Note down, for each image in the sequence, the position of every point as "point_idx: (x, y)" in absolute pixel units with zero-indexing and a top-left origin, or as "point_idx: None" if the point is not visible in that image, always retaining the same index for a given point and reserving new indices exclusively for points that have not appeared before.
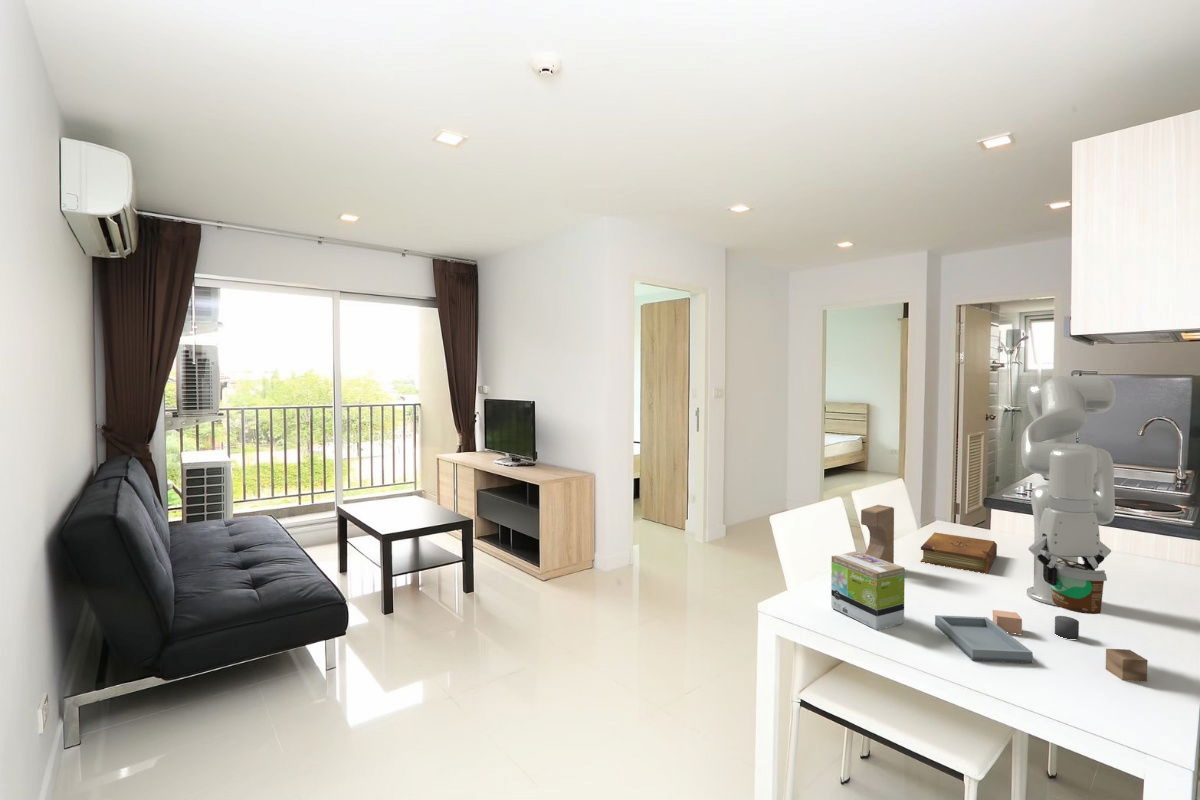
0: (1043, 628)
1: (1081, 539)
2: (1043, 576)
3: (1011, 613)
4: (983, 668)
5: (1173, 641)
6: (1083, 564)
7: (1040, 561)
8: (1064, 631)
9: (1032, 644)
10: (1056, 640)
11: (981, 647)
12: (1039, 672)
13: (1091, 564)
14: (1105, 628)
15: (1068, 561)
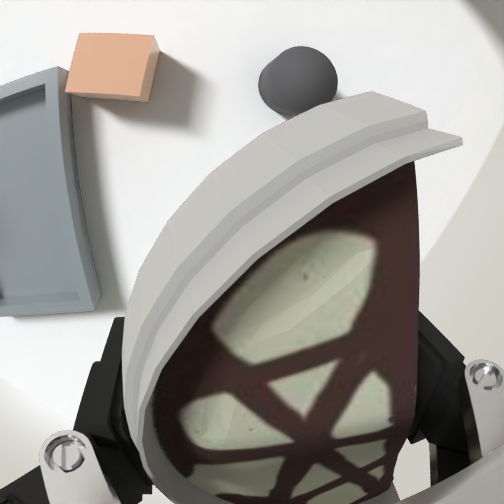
0: (248, 38)
1: None
2: (93, 368)
3: (128, 49)
4: (11, 331)
5: (487, 116)
6: (451, 371)
7: (39, 473)
8: (275, 105)
9: (147, 169)
10: (238, 122)
11: (7, 253)
12: (105, 332)
13: (431, 461)
14: (413, 42)
15: (383, 363)
